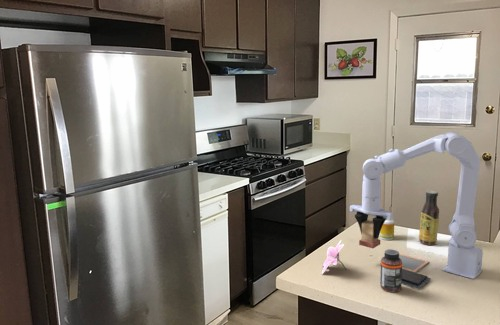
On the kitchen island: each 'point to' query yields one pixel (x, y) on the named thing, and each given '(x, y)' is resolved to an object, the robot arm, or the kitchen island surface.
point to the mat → (412, 263)
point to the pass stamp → (368, 235)
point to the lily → (332, 256)
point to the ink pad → (414, 279)
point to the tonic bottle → (429, 219)
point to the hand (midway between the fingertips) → (370, 236)
